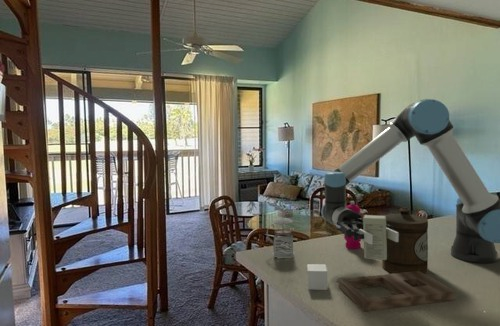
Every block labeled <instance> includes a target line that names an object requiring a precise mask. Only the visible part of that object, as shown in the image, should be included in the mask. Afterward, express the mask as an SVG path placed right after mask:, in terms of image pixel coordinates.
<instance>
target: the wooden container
mask: <svg viewBox="0 0 500 326" xmlns="http://www.w3.org/2000/svg"><path fill="white" fill-rule="evenodd" d="M398 211H399V212H400V213H390V214H386V215H384V216H386V224H388V225H391V226H392V230H394V231H396V232H398V233H399V240H398V242H395V241H393V240H391V239H388V238H387V259H386V260H381V266H382V267H381V268H382V269H384V270H385V271H387V272H389V273H390V274H394V273H403V272H413V271H420V272H421V273H423V274H425V275H427V274H426V273H428V267H429V265H428V261H429V241H428V238H429V234H428V229H429V219H428V218H427V217H424V216H421V215H417V214H410V208H408V207H406V206H402V207H400V208H399V209H398Z"/></svg>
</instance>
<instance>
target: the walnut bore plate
mask: <svg viewBox="0 0 500 326" xmlns="http://www.w3.org/2000/svg"><path fill="white" fill-rule="evenodd" d="M378 286H384V287H385V289H388V290H389V291H391V292H392V293H393V294H392V295H384V296H377V297H368V298H367V297H366V296H365V295H364V294H362V293H361V291H359V290H358V289H362V288H369V287H370V288H372V287H378ZM338 288H339V289H340V290H341V291H342V292H343V293H344V294H346V295H347V297H349V298H350V300H351V301H353V303H354V304H356V305H357V306H358V307H359V308H360V309H361V310H362V311H363V312H370V311H377V310H385V309H386V310H387V309H393V308H394V309H395V308H401V307H409V306H410V307H411V306H417V305H425V304H433V303H434V304H435V303H441V302H448V301H449V302H451V301H455V300H456V291H455V290H453V289H452V288H450V287H449V286H446V285H444V284H443V283H441V282H439V281H438V280H436V279H434V278H433V277H430V276H429V275H427V274H423V273H421V272H420V271H413V272H403V273H386V274H378V275H377V274H376V275H369V276H367V275H366V276H360V277H350V278H341V279H338Z"/></svg>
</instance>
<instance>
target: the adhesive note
mask: <svg viewBox="0 0 500 326" xmlns="http://www.w3.org/2000/svg"><path fill="white" fill-rule="evenodd" d="M306 269H307V270H306V272H307V273H306V274H307V277H306V278H307V290H315V291H316V290H320V291H321V290H322V291H323V290H325V291H326V290H327V291H328V268H327V265H326V264H323V263H322V264H320V263H313V264H312V263H307V265H306Z"/></svg>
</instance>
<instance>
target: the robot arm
mask: <svg viewBox="0 0 500 326" xmlns="http://www.w3.org/2000/svg"><path fill="white" fill-rule="evenodd" d="M454 129H455V127H454V125H453V123H452V122H451V120H450V111H449V110H448V107H447V106H446V105H445V104H444V103H443V102H441V101H440V100H436V99H431V98H430V99H429V98H426V99H425V98H424V99H421V100H418V101H416V102H413V103H411V104H409V105H408V106H406V107H405V108H404V109H403V110H402V111H401V112H400V113H399V114H398V115H397V116H396V117H395V118H394V119H392V120H391V121H390V122H389V123H388V127H387V128H386V129H385V130H383V131H382V132H381V133H379V134H378V135H377V136H376V137H375V138H373V139H372V140H371V141H370V142H368V143H367V144H366V145H364V146H363V147H362V148H361V149H360V150H358V151H357V152H356V153H354V154H353V155H352V156H351V157H350V158H348V159H347V160H346V161H345V162H343V163H342V164H341V165H339V166H338V167H337V168H336V169H335V170H334V171H328V172H326V173H324V181H323V186H324V205H322V206H321V207H322V208H321V211H320V212H321V216H322V218H323V219H324V220H325V221H326V222H327V223H329V224H331V225H333V226H335V227H336V230H337V231H340V232H341V233H342V234H343V236H344V235H346V236H347V237H348V238H350V237H351V236H354V240H358V238H359V239H361V241H363V242H364V241H365V242H367V243H368V244H373V235H372V234H370V233H368V232H366V231H364V230H363V217H362V216H361V213H359V214H358V213H357V212H355V211H352V210H350V209H348V208H346V207H347V205H346V203H347V200H346V197H347V196H346V194H347V193H346V190H347V188H346V187H347V186H348V185H349V184H350V183H351V182H352V181H354V180H355V179H356V178H358V177H359V176H361V174H363V173H364V172H365V171H367V170H368V169H369V168H370V167H372V166H373V165H374V164H375V163H377V162H378V161H379V160H381V159H382V158H383V157H384V156H386V155H387V154H389V152H391V151H392V150H394V149H395V148H396V147H397V146H399V145H400V144H401V143H404V142H405V143H407V142H408V141H410V140H411V139H412V138H414V137H415V138H416V140H417V141H418V143H419V144H420V146H425V147H427V148H428V150H429V151H430V153H431V155H432V156H433V158H434V159H435V161H436V163H437V164H438V166H439V167H440V169H441V171H442V172H443V173H444V175H445V177H446V178H447V180H448V182H449V183H450V185H451V186H452V188H453V190H454V191H455V193H456V194H457V196H458V197H457V199H456V204H455V209H456V210H455V211H456V213H455V217H456V218H455V219H456V220H455V222H456V223H455V227H456V229H455V233H456V234H455V237H454V239H453V243H452V245H451V247H450V255H451V256H452V257H454V258H456V259H458V260H462V261H466V262H472V263H478V264H479V263H480V264H489V263H490V264H491V263H494V262H495V263H496V262H497V261H498V259H499V258H498V254H499V253H498V251H497V249H496V245H495V244H500V198H499V196H498V195H495V194H493V193H492V194H491V193H490V191H489V189H488V188H487V187H486V186H485V184H484V182H483V180H482V179H481V178H480V176H479V174H478V172H477V171H476V170H475V168H474V166H473V164H471V162H470V159H468V156H466V153H465V152H464V150H463V149H462V147H461V146H460V144H459V143H458V141H457V140H456V138H455V136H454V135H453V132H454ZM386 236H387V238H388V239H391V240H393V241H395V242H398V240H399V233H398V232H396V231H394V230H392V226H391V225H388V224H386Z"/></svg>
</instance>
